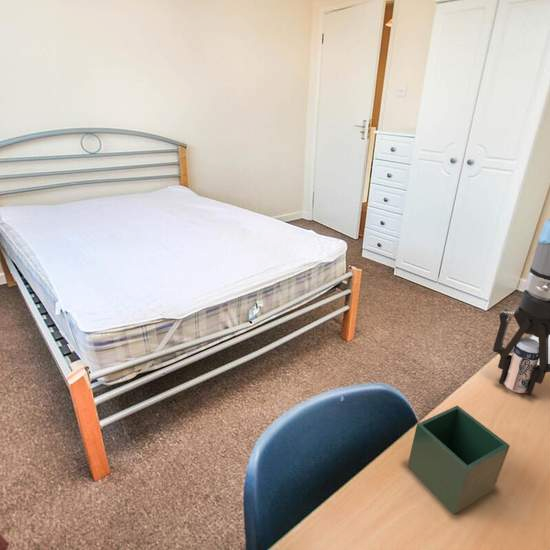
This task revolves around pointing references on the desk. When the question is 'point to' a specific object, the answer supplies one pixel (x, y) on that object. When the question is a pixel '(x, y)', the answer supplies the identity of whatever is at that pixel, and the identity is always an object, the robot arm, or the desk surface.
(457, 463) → the green open-top box
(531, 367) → the beer can
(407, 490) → the desk surface
